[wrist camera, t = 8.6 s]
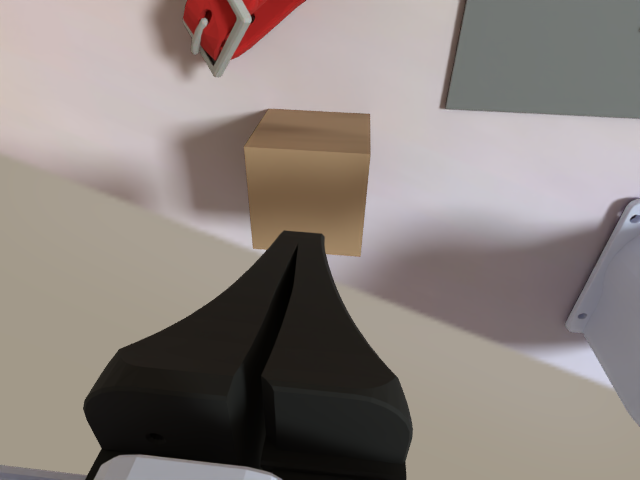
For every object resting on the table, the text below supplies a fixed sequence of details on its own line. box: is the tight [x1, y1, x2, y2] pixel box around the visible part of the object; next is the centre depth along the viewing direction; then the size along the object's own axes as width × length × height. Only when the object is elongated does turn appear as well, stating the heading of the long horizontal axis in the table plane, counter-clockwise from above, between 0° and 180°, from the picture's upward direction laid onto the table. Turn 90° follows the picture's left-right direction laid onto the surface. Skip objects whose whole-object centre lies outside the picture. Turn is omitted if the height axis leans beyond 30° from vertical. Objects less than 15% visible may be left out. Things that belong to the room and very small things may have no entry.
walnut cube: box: [244, 109, 370, 257], centre depth 19 cm, size 5×5×5 cm
